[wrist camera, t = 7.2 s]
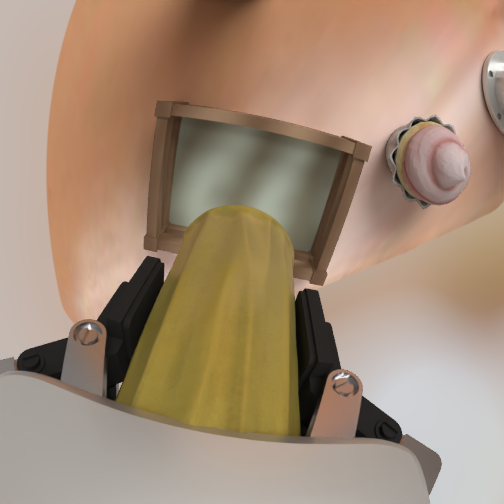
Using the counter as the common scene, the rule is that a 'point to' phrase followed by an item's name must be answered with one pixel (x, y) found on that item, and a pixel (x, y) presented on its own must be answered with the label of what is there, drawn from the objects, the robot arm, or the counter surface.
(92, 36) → the counter surface
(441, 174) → the cupcake
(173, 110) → the tray
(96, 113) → the counter surface
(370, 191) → the counter surface
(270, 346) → the vase
